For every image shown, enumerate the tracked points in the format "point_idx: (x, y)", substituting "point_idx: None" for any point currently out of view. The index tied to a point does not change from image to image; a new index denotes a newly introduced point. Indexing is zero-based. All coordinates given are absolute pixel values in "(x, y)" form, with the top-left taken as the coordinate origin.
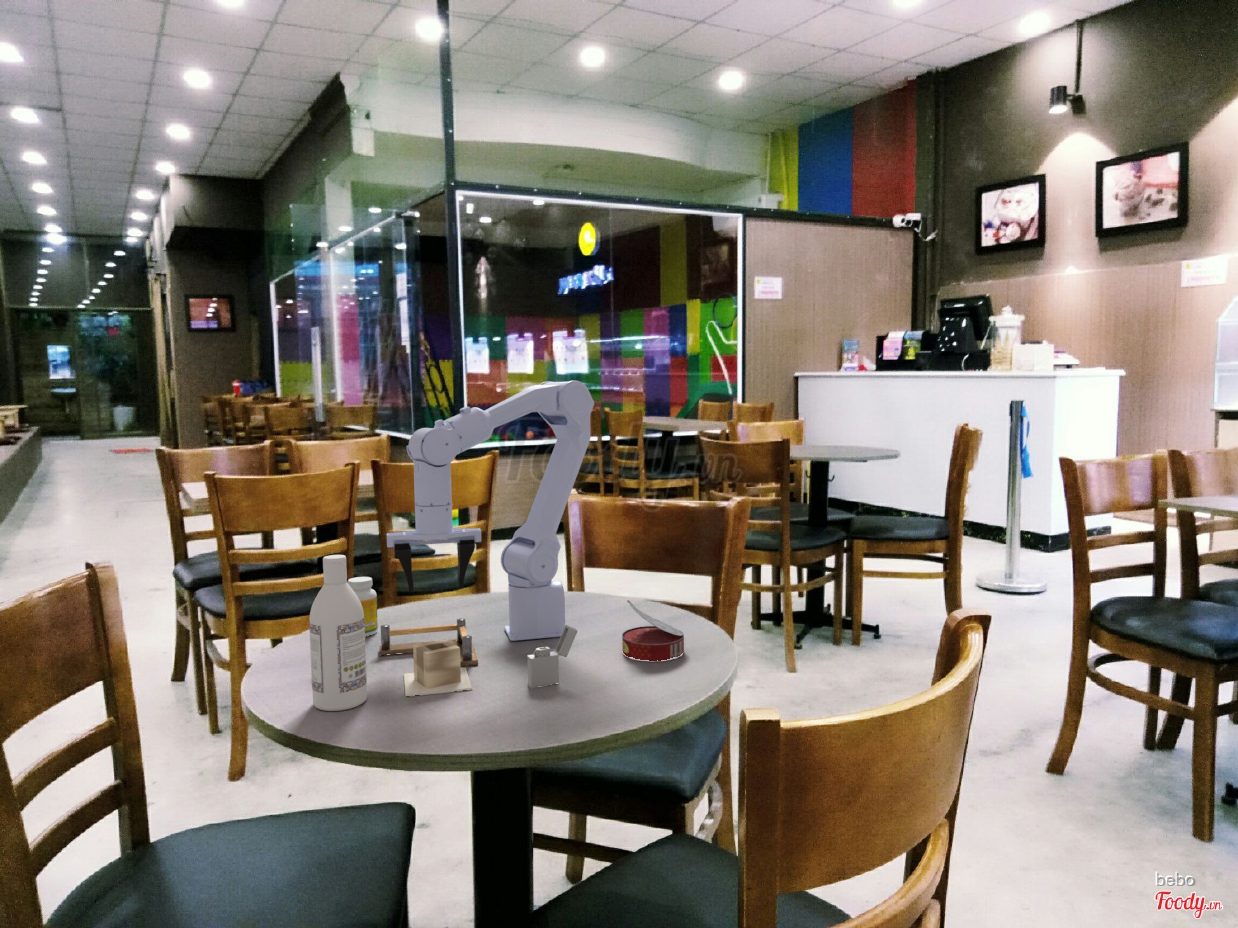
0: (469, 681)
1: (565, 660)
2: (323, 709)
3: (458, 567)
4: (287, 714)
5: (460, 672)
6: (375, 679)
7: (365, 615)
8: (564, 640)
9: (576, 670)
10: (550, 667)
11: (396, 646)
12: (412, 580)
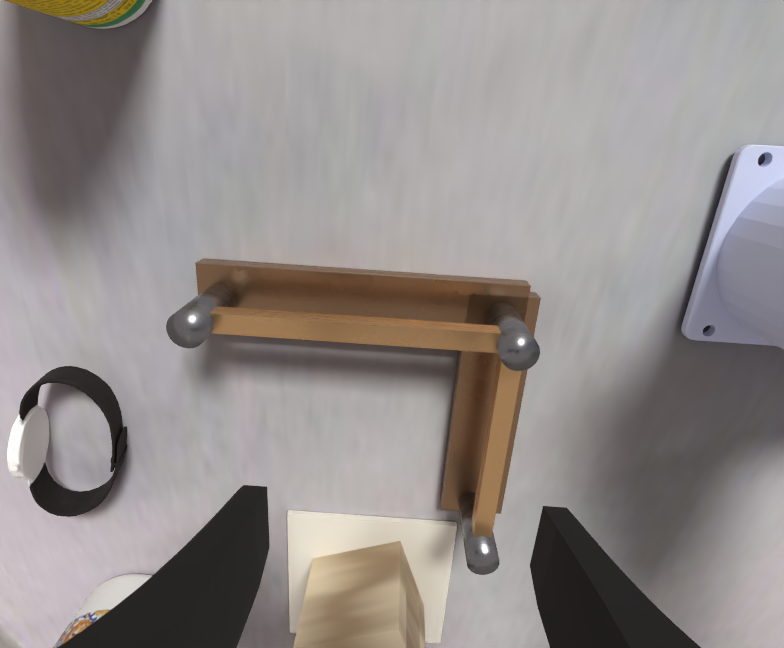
0: (444, 611)
1: (740, 545)
2: None
3: (592, 622)
4: (49, 629)
5: (424, 627)
6: (214, 508)
7: (54, 1)
8: None
9: (721, 612)
10: None
11: (259, 296)
12: (242, 626)
